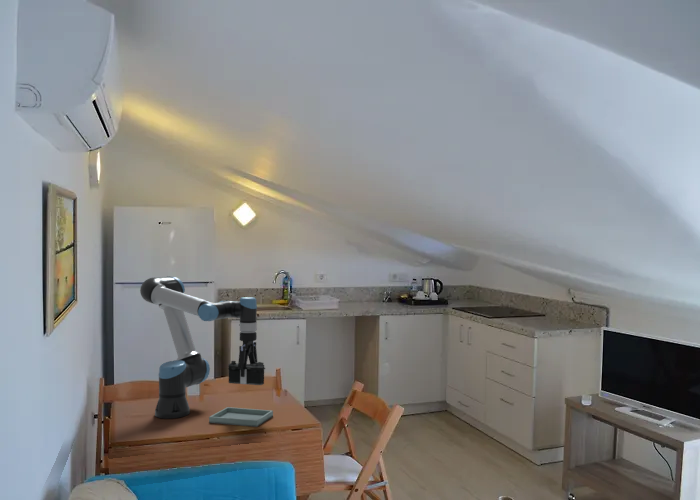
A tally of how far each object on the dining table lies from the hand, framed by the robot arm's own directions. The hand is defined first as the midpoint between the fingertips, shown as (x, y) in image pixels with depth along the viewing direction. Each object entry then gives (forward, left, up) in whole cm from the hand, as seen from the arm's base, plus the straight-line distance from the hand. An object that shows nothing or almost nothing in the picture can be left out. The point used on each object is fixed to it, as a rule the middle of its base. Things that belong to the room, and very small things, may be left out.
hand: (247, 381), depth 266 cm
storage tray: (0, -7, -15) cm, 17 cm away
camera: (0, 0, -1) cm, 1 cm away
